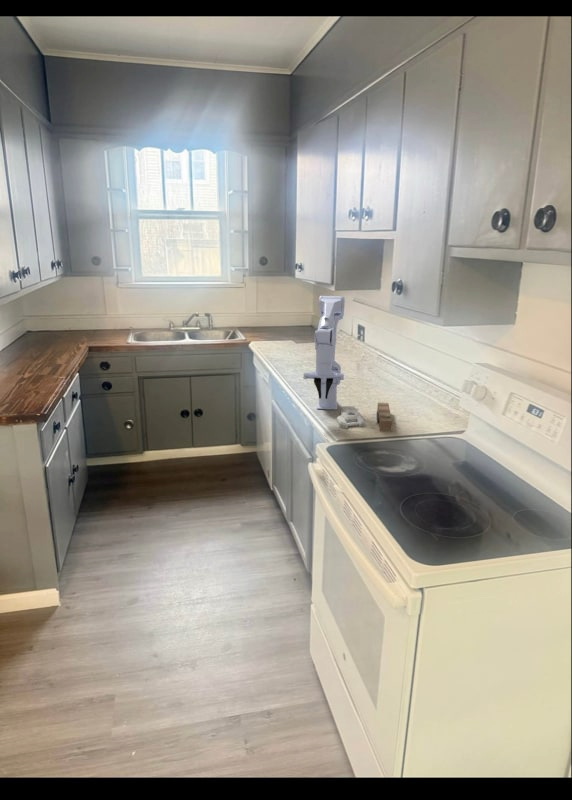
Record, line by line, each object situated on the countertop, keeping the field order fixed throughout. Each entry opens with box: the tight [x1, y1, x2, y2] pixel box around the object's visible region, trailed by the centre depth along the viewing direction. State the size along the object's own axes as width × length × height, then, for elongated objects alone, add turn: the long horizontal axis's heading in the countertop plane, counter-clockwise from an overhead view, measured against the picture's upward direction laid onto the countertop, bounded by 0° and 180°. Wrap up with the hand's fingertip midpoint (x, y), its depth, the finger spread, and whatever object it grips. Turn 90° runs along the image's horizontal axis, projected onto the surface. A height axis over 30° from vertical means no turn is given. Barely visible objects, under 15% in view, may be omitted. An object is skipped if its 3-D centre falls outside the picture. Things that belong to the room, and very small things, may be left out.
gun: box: [336, 405, 366, 429], centre depth 194 cm, size 18×4×10 cm
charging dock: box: [376, 402, 393, 432], centre depth 192 cm, size 20×5×4 cm, turn 173°
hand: (323, 397), depth 193 cm, fingers closed
